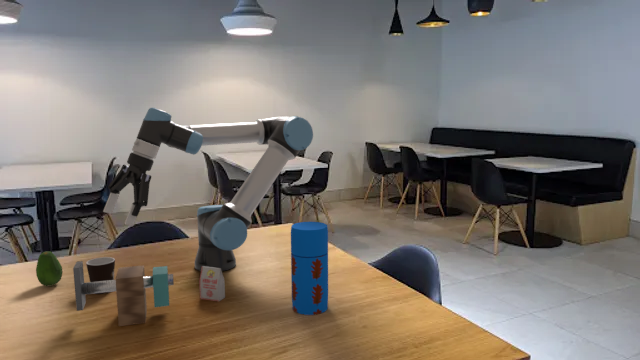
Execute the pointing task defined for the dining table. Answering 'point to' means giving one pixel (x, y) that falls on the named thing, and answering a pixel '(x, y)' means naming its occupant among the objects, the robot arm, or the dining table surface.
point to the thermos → (309, 267)
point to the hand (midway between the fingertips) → (117, 218)
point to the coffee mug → (101, 269)
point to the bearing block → (131, 295)
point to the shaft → (100, 285)
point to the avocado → (48, 269)
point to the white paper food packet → (211, 284)
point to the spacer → (160, 286)
